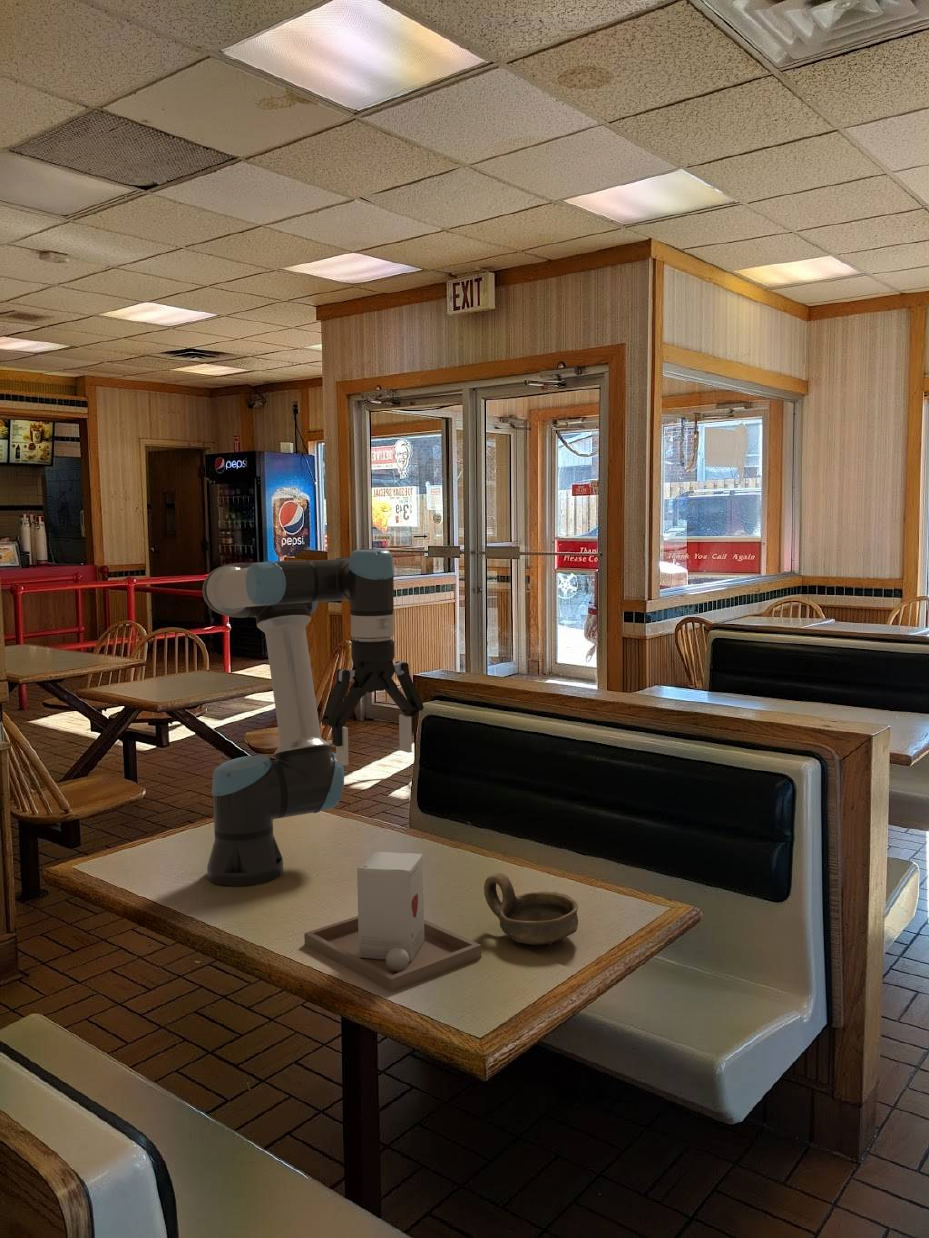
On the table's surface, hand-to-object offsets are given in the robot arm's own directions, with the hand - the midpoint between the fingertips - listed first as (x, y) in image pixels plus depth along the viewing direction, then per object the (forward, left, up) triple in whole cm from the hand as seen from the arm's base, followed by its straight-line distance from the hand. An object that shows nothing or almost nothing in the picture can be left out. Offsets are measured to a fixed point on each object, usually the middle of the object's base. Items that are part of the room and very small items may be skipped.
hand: (374, 757), depth 179 cm
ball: (+21, -12, -28) cm, 38 cm away
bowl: (+25, +13, -29) cm, 41 cm away
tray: (+14, -8, -29) cm, 33 cm away
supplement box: (+14, -8, -29) cm, 33 cm away
